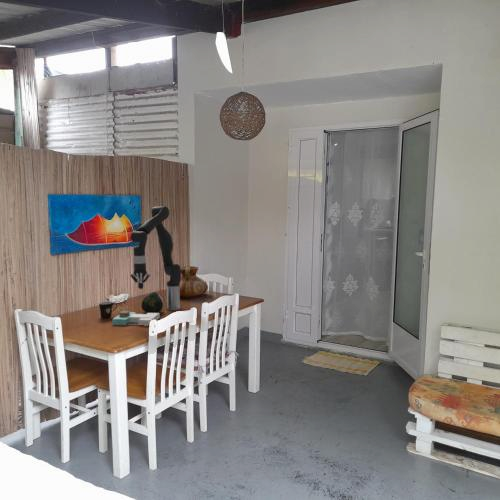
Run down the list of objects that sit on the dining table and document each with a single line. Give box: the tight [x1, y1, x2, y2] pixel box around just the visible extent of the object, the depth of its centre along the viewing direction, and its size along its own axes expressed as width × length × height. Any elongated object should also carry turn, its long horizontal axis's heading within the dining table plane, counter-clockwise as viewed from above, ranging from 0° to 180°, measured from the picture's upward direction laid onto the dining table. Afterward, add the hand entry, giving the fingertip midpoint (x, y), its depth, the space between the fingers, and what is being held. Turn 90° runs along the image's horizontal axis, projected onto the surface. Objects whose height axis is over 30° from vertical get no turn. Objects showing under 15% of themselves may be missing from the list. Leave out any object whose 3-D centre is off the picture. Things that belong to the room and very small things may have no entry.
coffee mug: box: [98, 300, 118, 320], centre depth 303 cm, size 12×9×10 cm
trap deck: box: [112, 311, 161, 327], centre depth 293 cm, size 18×25×4 cm
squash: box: [141, 292, 164, 314], centre depth 316 cm, size 14×15×15 cm
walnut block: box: [118, 310, 131, 317], centre depth 293 cm, size 5×5×2 cm
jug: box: [180, 265, 209, 299], centre depth 370 cm, size 30×30×25 cm
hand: (140, 288), depth 292 cm, fingers closed
